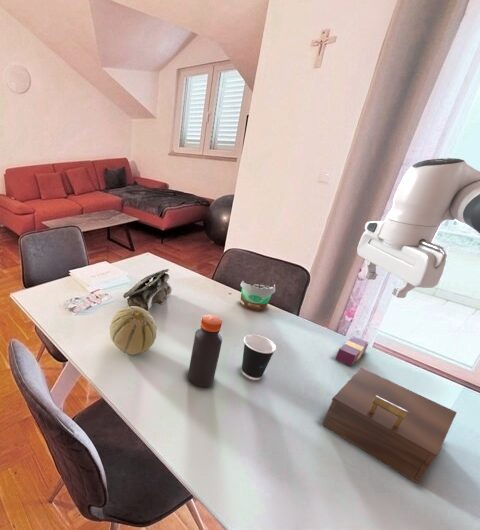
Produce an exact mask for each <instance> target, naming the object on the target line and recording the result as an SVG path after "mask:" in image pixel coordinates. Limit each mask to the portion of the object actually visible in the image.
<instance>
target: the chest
mask: <svg viewBox="0 0 480 530" xmlns="http://www.w3.org/2000/svg"><path fill="white" fill-rule="evenodd" d="M321 424H322V425H323V426H324V427H326V428H327V429H329V430H330V431H332V432H334V433H335V434H337V435H338V436H340V437H342V438H343V439H344V440H346V441H348V442H349V443H351V444H353V445H354V446H356V447H358V448H359V449H360V450H362V451H364V452H365V453H367V454H369V455H370V456H372V457H373V458H374V459H376V460H378V461H380V462H382V463H383V464H384V465H386V466H387V467H389V468H391V469H392V470H394V471H395V472H398V473H399V474H401V475H402V476H404V477H405V478H406V479H409V480H410V481H411V482H414V483H415V484H417V485H418V484H419V483H420V481H421V479H422V478H423V477H424V475H425V473H426V472H427V471H428V470H429V468H430V466H431V465H432V463H433V462H434V460H435V459H436V458H434V457H432V456H430V455H428V454H427V453H425V452H423V451H421V450H420V449H418V448H416V447H414V446H412V445H411V444H409V443H407V442H405V441H404V440H402V439H400V438H398V437H397V436H395V435H393V434H391V433H389V432H388V431H386V430H384V429H382V428H381V427H379V426H377V425H375V424H373V423H372V422H370V421H368V420H366V419H365V418H363V417H361V416H359V415H358V414H356V413H354V412H352V411H350V410H349V409H347V408H345V407H343V406H342V405H340V404H338V403H336V402H334V401H333V400H332V399H331V403H330V406H329V408H328V410H327V412H326V414H325V416H324V418H323V421H322V423H321Z"/></svg>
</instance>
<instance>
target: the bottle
mask: <svg viewBox="0 0 480 530" xmlns="http://www.w3.org/2000/svg"><path fill="white" fill-rule="evenodd" d="M222 325H223V320H222V319H221V317H219V316H217V315H214V314H204V315H203V316H201V320H200V328H199V329H197V330H196V331H195V332H194V338H193V344H192V350H191V354H190V355H191V356H190V360H189V361H190V362H189V366H188V372H187V378H188V380H189V381H190V383H192V384H193V385H194V386H196V387H198V388H209V387H211V386H212V385H213V384H214V380H215V377H216V371H217V366H218V361H219V358H220V353H221V349H222V344H223V336H222V335H221V333H220V332H221V329H222Z"/></svg>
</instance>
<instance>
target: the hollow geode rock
mask: <svg viewBox="0 0 480 530" xmlns="http://www.w3.org/2000/svg"><path fill="white" fill-rule="evenodd" d="M169 271H170V269H168V268H166V269H162V270H159V271H157V272H155V273H152V274H149V275H146V276H145V277H143V278H142V279H141V280H140V281H139V282H137V283H135V284H134V286H133V287H131V288H130V289H129V290H128V291H127V292H124V293H123V295H122V297H123V298H124V299H126V300H127V305H128V307H130V306H137V307H140V308H143V309H145V310H146V311H148V312H149V310H150V309H151V308H152V306H153V305H156V304H158V305H160V306H162V305H165V304H166V303H167V300H168V297H169V296H170V295H171V294H172V291H173V288H172V286H171V285H170V284H169V283H168V281H169V280H170V275H169V274H168V272H169Z"/></svg>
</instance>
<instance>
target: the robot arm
mask: <svg viewBox="0 0 480 530" xmlns="http://www.w3.org/2000/svg"><path fill="white" fill-rule="evenodd" d="M447 220H448V221H454V222H455V221H456V223H459V224H461V225H463V226H466V227H468V228H470V229H472V230H473V231H475V232H477V233H478V234H480V170H478V169H475V168H474V167H473V166H471V165H469V164H468V163H467V162H466V161H465V159H461V158H452V157H451V158H450V157H447V158H432V159H426V160H422V161H419V162H416V163H414V164H412V165H411V166H410V167H409V168H408V170H407V171H406V173H405V174H404V175H403V177H402V180H401V181H400V183H399V185H398V187H397V190H396V192H395V194H394V197H393V201H392V208H391V209H390V211H389V212H388V213H387V214H386V216H385V219H384V220H380V221H379V220H377V221H367V222H366V223H365V225H364V230H365V231H364V232H362V235H361V236H360V239H359V242H358V245H357V248H356V253H357V256H359V257H360V258H362V259H364V260H365V262H364V263H365V273H364V277H365V278H366V279H367V280H369V281H370V280H371V281H374V280H376V279H377V277H378V274H379V273H378V272H377V267H379V268H381V269H382V270H384V271H386V272H388V273H390V274H392V275H393V276H395V277H396V278H398V279H401V283H400V284H401V286H399V287H394V288H393V291H392V293H391V294H392V295H393V296H395V297H396V298H398V299H404V298H406V297H407V295H408V293H409V292H410V291H412V290H414V289H415V288H420V289H421V288H422V289H432V288H435V287H436V286H438V285H439V284H440V281H441V279H442V277H443V274H444V271H445V268H446V264H447V258H448V254H447V252H446V251H445V249H444V247H443V246H442V245H440V244H435V243H433V242H434V240H435V238H436V237H437V234H438V232H439V230H440V228H441V226H442V224H443V222H445V221H447Z"/></svg>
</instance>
